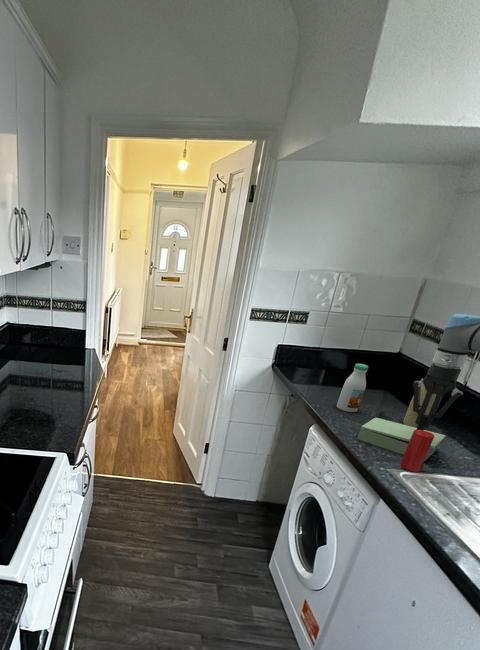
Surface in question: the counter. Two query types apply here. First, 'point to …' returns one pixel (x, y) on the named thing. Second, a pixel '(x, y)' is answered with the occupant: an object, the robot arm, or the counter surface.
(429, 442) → the tin
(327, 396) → the counter surface
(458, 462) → the counter surface
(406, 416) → the food model
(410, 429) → the lid
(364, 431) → the green open box
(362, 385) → the milk bottle
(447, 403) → the robot arm
